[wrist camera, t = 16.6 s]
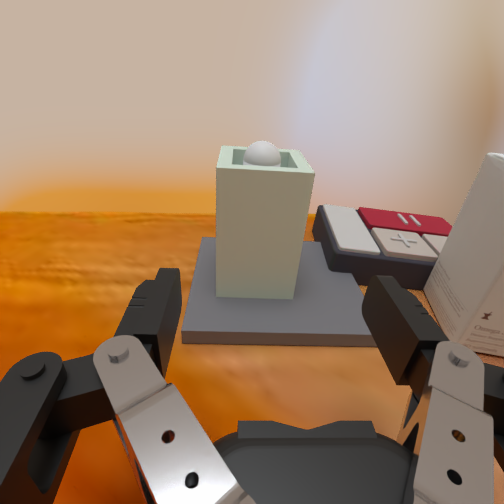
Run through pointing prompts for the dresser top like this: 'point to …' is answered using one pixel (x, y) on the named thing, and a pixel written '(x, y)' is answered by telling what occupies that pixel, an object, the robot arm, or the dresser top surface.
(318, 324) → the post stand
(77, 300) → the dresser top surface
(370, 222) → the dark gray paneled box
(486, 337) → the supplement box
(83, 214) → the dresser top surface
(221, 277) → the sleeve
